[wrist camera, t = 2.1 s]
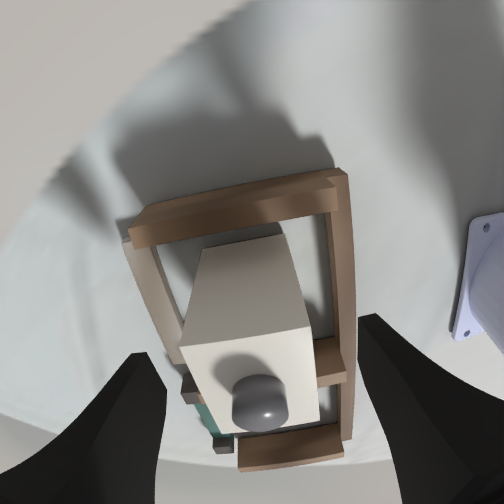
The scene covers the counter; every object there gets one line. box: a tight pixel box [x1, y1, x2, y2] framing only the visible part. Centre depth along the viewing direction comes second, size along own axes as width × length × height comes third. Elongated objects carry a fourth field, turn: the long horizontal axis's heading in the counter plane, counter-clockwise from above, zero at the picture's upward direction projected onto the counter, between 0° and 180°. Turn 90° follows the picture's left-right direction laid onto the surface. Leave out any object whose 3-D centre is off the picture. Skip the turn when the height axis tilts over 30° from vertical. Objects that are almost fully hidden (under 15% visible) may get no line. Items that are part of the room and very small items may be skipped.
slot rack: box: [121, 167, 356, 472], centre depth 15 cm, size 9×18×2 cm, turn 11°
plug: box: [179, 234, 320, 434], centre depth 11 cm, size 4×4×7 cm
